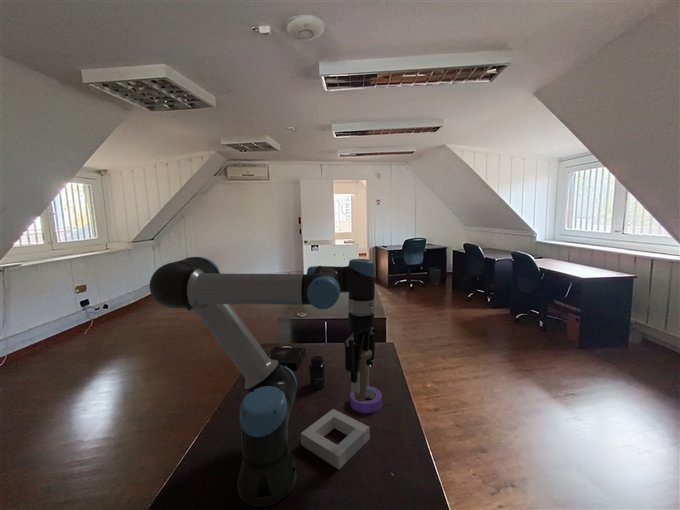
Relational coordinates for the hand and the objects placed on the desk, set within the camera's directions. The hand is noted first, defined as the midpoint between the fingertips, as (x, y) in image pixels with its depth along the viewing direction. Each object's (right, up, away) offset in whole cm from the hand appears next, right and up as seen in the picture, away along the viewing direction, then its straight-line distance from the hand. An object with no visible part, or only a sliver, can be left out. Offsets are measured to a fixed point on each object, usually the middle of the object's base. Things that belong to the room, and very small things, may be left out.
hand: (360, 387), depth 92 cm
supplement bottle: (-15, -14, +35) cm, 41 cm away
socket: (-7, -18, +3) cm, 20 cm away
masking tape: (+4, -16, +22) cm, 27 cm away
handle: (0, -4, 0) cm, 4 cm away
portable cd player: (-33, -13, +58) cm, 68 cm away
